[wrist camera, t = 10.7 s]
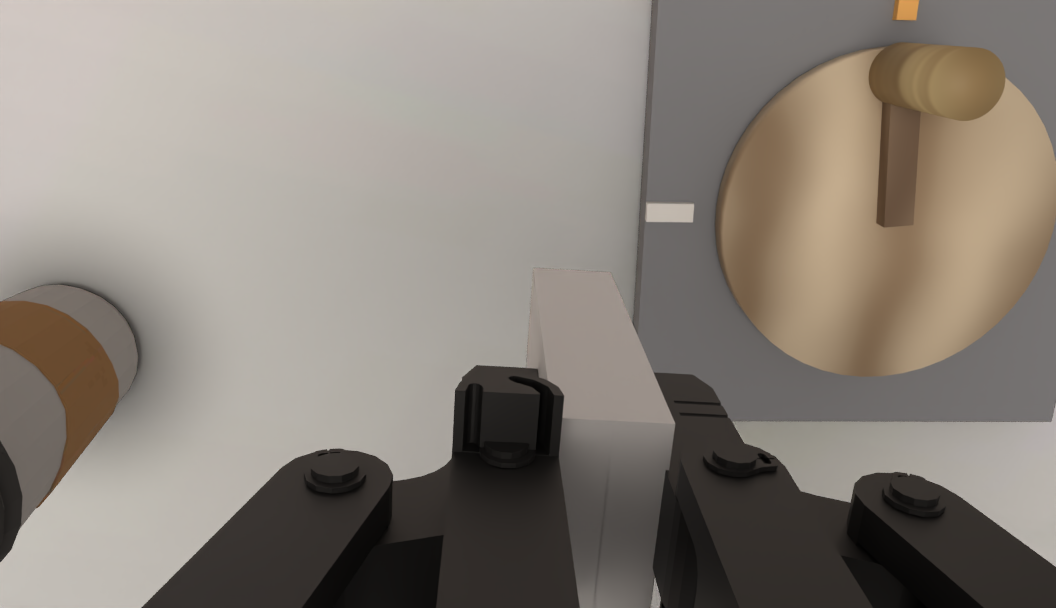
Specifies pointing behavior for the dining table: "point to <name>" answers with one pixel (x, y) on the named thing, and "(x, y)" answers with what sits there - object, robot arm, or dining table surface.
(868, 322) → the dial
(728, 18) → the dial base
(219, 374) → the dining table surface
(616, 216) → the dining table surface
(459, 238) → the dining table surface
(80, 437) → the coffee cup
